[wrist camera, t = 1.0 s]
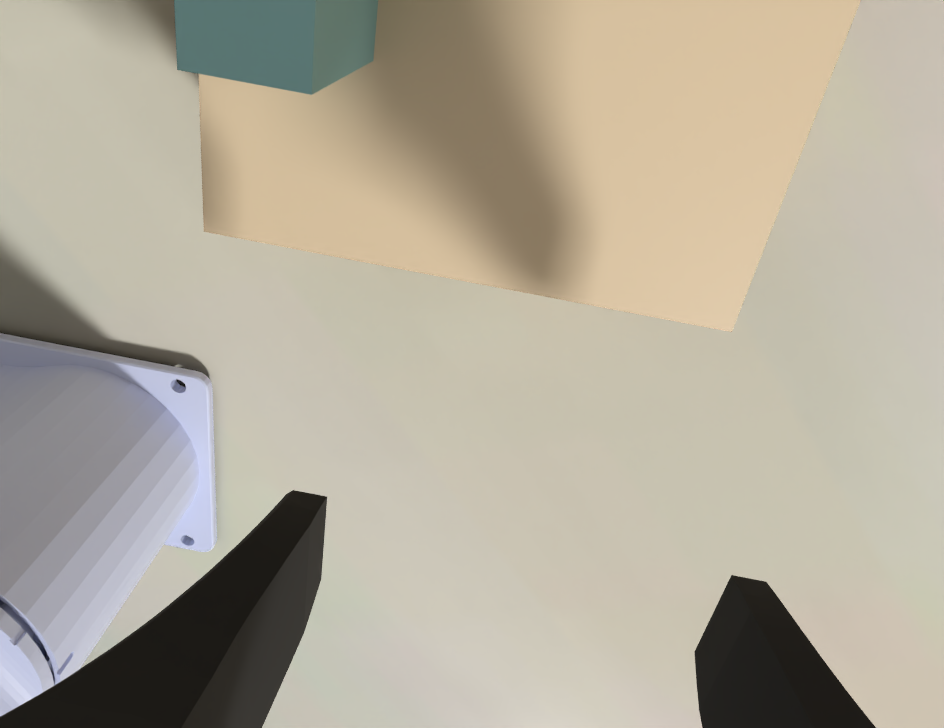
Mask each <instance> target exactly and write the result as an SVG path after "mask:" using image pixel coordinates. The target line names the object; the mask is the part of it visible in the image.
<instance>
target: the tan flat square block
mask: <svg viewBox="0 0 944 728" xmlns="http://www.w3.org/2000/svg"><path fill="white" fill-rule="evenodd" d="M860 1H861V0H174V7H175V28H176V49H177V70H182V71H187V72H192V73H198V74H199V102H200V131H201V161H202V190H203V220H204V232H209V233H214V234H219V235H224V236H230V237H235V238H240V239H245V240H251V241H256V242H261V243H266V244H272V245H277V246H282V247H287V248H293V249H298V250H303V251H308V252H314V253H319V254H324V255H330V256H335V257H340V258H345V259H351V260H356V261H361V262H366V263H372V264H377V265H382V266H387V267H393V268H398V269H403V270H408V271H414V272H419V273H424V274H429V275H435V276H440V277H445V278H451V279H456V280H461V281H466V282H472V283H477V284H482V285H487V286H493V287H498V288H503V289H508V290H514V291H519V292H524V293H529V294H535V295H540V296H545V297H551V298H556V299H561V300H566V301H572V302H577V303H582V304H587V305H593V306H598V307H603V308H608V309H614V310H619V311H624V312H629V313H635V314H640V315H645V316H650V317H656V318H661V319H666V320H672V321H677V322H682V323H687V324H693V325H698V326H703V327H708V328H714V329H719V330H724V331H729V332H732V330H733V328H734V325H735V322H736V320H737V317H738V315H739V312H740V310H741V307H742V304H743V302H744V299H745V297H746V294H747V292H748V289H749V286H750V284H751V281H752V279H753V276H754V274H755V271H756V268H757V266H758V263H759V261H760V258H761V256H762V253H763V250H764V248H765V245H766V243H767V240H768V238H769V235H770V232H771V230H772V227H773V225H774V222H775V220H776V217H777V214H778V212H779V209H780V207H781V204H782V202H783V199H784V196H785V194H786V191H787V189H788V186H789V184H790V181H791V178H792V176H793V173H794V171H795V168H796V166H797V163H798V160H799V158H800V155H801V153H802V150H803V148H804V145H805V142H806V140H807V137H808V135H809V132H810V130H811V127H812V124H813V122H814V119H815V117H816V114H817V112H818V109H819V106H820V104H821V101H822V99H823V96H824V94H825V91H826V88H827V86H828V83H829V81H830V78H831V76H832V73H833V70H834V68H835V65H836V63H837V60H838V58H839V55H840V52H841V50H842V47H843V45H844V42H845V40H846V37H847V34H848V32H849V29H850V27H851V24H852V22H853V19H854V16H855V14H856V11H857V9H858V6H859V4H860Z"/></svg>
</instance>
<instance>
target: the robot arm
mask: <svg viewBox="0 0 944 728" xmlns="http://www.w3.org/2000/svg"><path fill="white" fill-rule="evenodd" d="M176 379H178V380H180V381H182V382H183V383H184V384H185V386H186V387H183V386H181V385H179V384H178V383H177V381H176ZM326 504H327V497H325V496H320V495H315V494H310V493H305V492H299V491H294V490H293V491H291V492H289V493H288V494H286V495H285V496H284V498H283V499H282V500H281V501H280V502H279V503H278V504H277V505H276V506H275V507H274V509H273V510H272V511H271V512H270V513H269V514H268V515H267V516H266V517H265V518H264V519H263V520H262V521H261V522H260V523H259V524H258V525H257V526H256V527H255V528H254V529H253V530H252V531H251V532H250V533H249V534H248V535H247V536H246V537H245V538H244V539H243V540H242V541H241V542H240V543H239V544H238V545H237V546H236V547H235V548H234V549H233V550H231V551H230V552H229V553H228V554H227V555H226V556H225V557H224V558H223V559H222V560H221V561H220V562H219V563H217V564H216V565H215V566H214V567H213V568H212V569H211V570H210V571H209V572H208V573H207V574H205V575H204V576H203V577H202V578H201V579H200V580H198V581H197V582H196V583H195V584H194V585H192V586H191V587H190V588H189V589H188V590H186V591H185V592H184V593H183V594H182V595H180V596H179V597H178V598H177V599H176V600H174V601H173V602H172V603H171V604H170V605H169V606H167V607H166V608H165V609H164V610H162V611H161V612H160V613H158V614H157V615H156V616H155V617H153V618H152V619H151V620H149V621H148V622H147V623H145V624H144V625H143V626H141V627H140V628H139V629H137V630H136V631H135V632H133V633H132V634H131V635H129V636H128V637H126V638H125V639H124V640H122V641H121V642H119V643H118V644H117V645H115V646H114V647H112V648H111V649H110V650H108V651H107V652H105V653H104V654H102V655H101V656H99V657H98V658H96V659H94V660H93V661H91V662H90V663H88V664H87V665H85V666H84V667H82V668H81V666H82V665H83V663H84V662H85V660H86V659H87V657H88V656H89V654H90V653H91V651H92V650H93V648H94V647H95V645H96V644H97V642H98V641H99V640H100V638H101V637H102V635H103V634H104V632H105V631H106V629H107V628H108V626H109V625H110V623H111V622H112V620H113V619H114V617H115V616H116V614H117V613H118V611H119V610H120V608H121V607H122V605H123V604H124V602H125V601H126V599H127V598H128V596H129V595H130V594H131V592H132V591H133V589H134V588H135V586H136V585H137V583H138V582H139V580H140V579H141V577H142V576H143V574H144V573H145V571H146V570H147V568H148V567H149V565H150V564H151V562H152V561H153V559H154V558H155V556H156V555H157V553H158V552H159V551H160V549H161V548H162V546H163V545H169V546H175V547H180V548H185V549H190V550H195V551H200V552H207V551H210V550H211V549H213V547H214V545H215V544H216V541H217V521H216V489H215V457H214V425H213V393H212V383H211V381H210V379H209V378H208V377H207V376H206V375H205V374H203V373H201V372H198V371H194V370H189V369H184V368H179V367H174V366H168V365H163V364H158V363H153V362H148V361H142V360H137V359H132V358H127V357H122V356H116V355H111V354H106V353H101V352H96V351H90V350H85V349H80V348H75V347H70V346H64V345H59V344H54V343H49V342H44V341H38V340H33V339H28V338H23V337H18V336H12V335H7V334H2V333H0V728H262V726H263V724H264V722H265V719H266V717H267V715H268V713H269V710H270V708H271V706H272V704H273V701H274V699H275V697H276V695H277V692H278V690H279V688H280V686H281V683H282V681H283V679H284V677H285V675H286V672H287V670H288V668H289V665H290V663H291V661H292V659H293V656H294V654H295V652H296V650H297V647H298V645H299V643H300V641H301V638H302V636H303V634H304V631H305V628H306V625H307V622H308V619H309V615H310V612H311V609H312V606H313V603H314V600H315V597H316V593H317V590H318V587H319V584H320V581H321V573H322V559H323V545H324V531H325V518H326ZM188 536H190V537H191V538H190V537H188ZM695 664H696V679H697V691H698V701H699V711H700V716H701V722H702V727H703V728H876V727H875V726H874V725H873V724H872V722H871V721H870V720H869V719H868V717H867V716H866V715H865V714H864V712H863V711H862V710H861V709H860V707H859V706H858V705H857V704H856V702H855V701H854V700H853V699H852V697H851V696H850V695H849V693H848V692H847V691H846V690H845V688H844V687H843V686H842V684H841V683H840V682H839V680H838V679H837V678H836V676H835V675H834V674H833V672H832V671H831V670H830V668H829V667H828V666H827V664H826V663H825V662H824V660H823V659H822V658H821V656H820V655H819V654H818V652H817V651H816V649H815V648H814V647H813V645H812V644H811V643H810V641H809V640H808V638H807V637H806V636H805V634H804V633H803V632H802V630H801V629H800V627H799V626H798V625H797V623H796V622H795V620H794V619H793V618H792V616H791V615H790V613H789V612H788V611H787V609H786V608H785V607H784V605H783V604H782V602H781V601H780V600H779V598H778V597H777V596H776V594H775V593H774V592H773V590H772V589H771V588H770V586H769V585H768V584H767V582H764V581H759V580H754V579H748V578H743V577H738V576H733V575H732V576H731V578H730V580H729V582H728V584H727V586H726V588H725V590H724V592H723V594H722V596H721V598H720V600H719V602H718V605H717V607H716V609H715V611H714V613H713V615H712V617H711V619H710V621H709V623H708V625H707V627H706V629H705V631H704V633H703V636H702V638H701V640H700V642H699V644H698V646H697V648H696V650H695ZM80 668H81V669H80Z"/></svg>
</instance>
